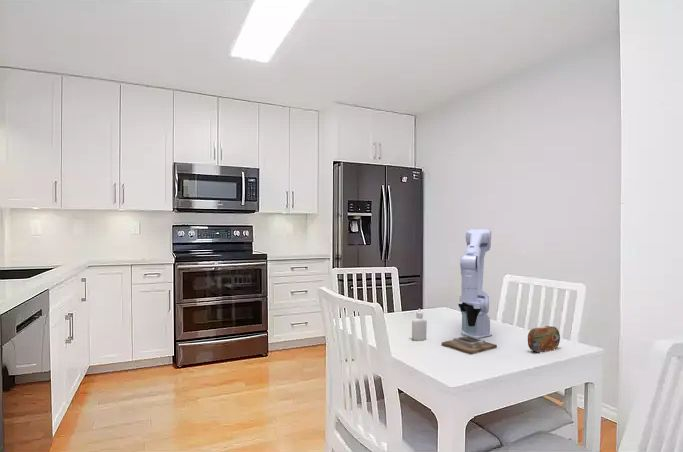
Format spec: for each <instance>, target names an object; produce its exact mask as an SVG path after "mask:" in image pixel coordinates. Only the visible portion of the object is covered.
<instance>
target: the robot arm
mask: <svg viewBox="0 0 683 452" xmlns="http://www.w3.org/2000/svg"><path fill="white" fill-rule="evenodd" d="M465 242H466V247H465V250H464V254H463V256H462V255H461V256H460V259H459V268H460V275H461V296H459V302H461V303H457V305H458V307H459V309H460V312H461V314H462V311H466V314H467V320H468V325H469V326H475V323H476V319H477V333H466V332H464V331H463V332H462V333H461V335H463V336H470V337H474V338H477V339H482V338H486V337H491V336H492V333H491V318H490V316H489V315H488V313H489V312H490V311H489V310H490V296H489V295H488V293H487V292H486V291H485V290H484V289H483V282H484V280H483V279H484V268H485V267H484V265H485V255H486V253H487V252H488V251H489V252H490V250H491V246H492V245H491V244H492V230H491V228H488V229H487V228H485V229H483V228H477V229H476V228H475V229H474V228H473V229H472V228H467V229H466V231H465Z"/></svg>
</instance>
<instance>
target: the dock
mask: <svg viewBox="0 0 683 452" xmlns="http://www.w3.org/2000/svg"><path fill="white" fill-rule="evenodd" d="M442 346H443V347H446V348H450V349H452V350H455V351H458V352H461V353H464V354H468V355H474V354H477V353H481V352H485V351H489V350H494V349H497V348H498V345H497V344H495V343H491V342H487V341H486V340H484V339H482V338H478V339H477V338H474V337H470V336H466V335H463V336H460V337H459V336H458V337H455V338H453V339H452V340H451V339H450V340H447V341H441V347H442Z"/></svg>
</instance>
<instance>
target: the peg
mask: <svg viewBox="0 0 683 452" xmlns="http://www.w3.org/2000/svg"><path fill="white" fill-rule="evenodd" d="M461 331H462V332H463V333H464V332H466V333H477V319H476V323H475V326H469V325H468V320H467V314H466V311H462V313H461Z"/></svg>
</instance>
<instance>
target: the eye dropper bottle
mask: <svg viewBox="0 0 683 452" xmlns="http://www.w3.org/2000/svg"><path fill="white" fill-rule="evenodd" d="M423 314H424V313H423V311H421V308H418V310H417V311H416V313H415V315H416V316H415V318H413V319H412V322H411V340H412V341H416V342H417V341H418V342H419V341H426V340H427V325H428V324H427V319H426V318H423Z"/></svg>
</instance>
